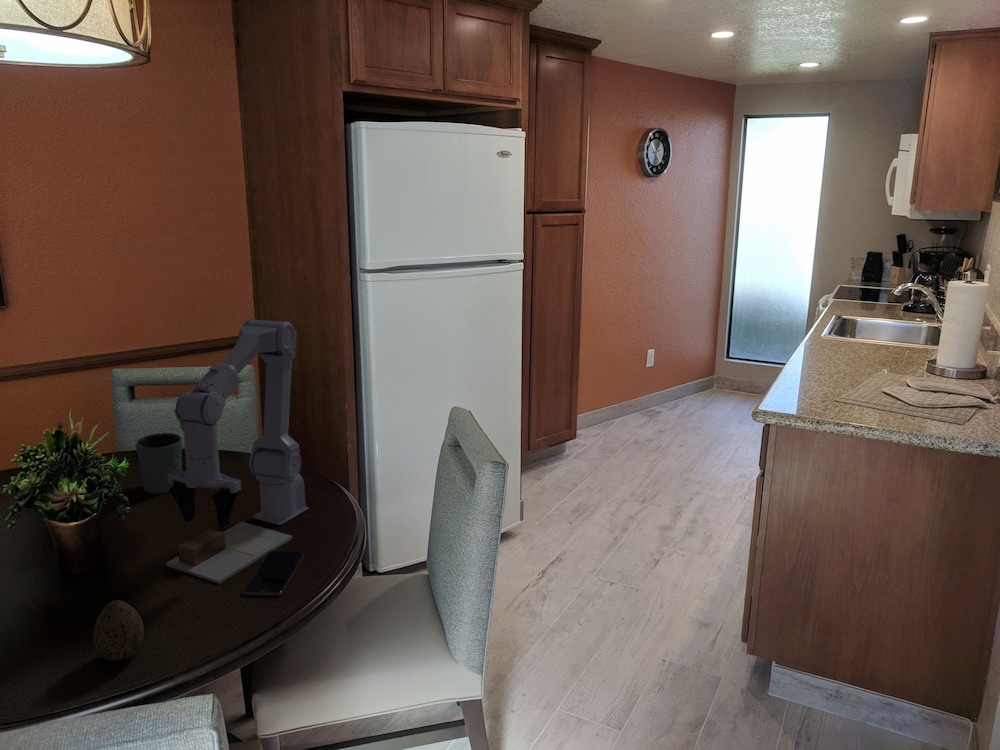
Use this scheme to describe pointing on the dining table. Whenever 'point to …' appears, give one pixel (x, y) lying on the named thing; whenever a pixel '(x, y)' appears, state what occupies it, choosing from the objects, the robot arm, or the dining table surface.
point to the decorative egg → (118, 631)
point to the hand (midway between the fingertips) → (206, 522)
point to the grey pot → (159, 460)
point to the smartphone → (273, 573)
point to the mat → (235, 552)
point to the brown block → (201, 547)
